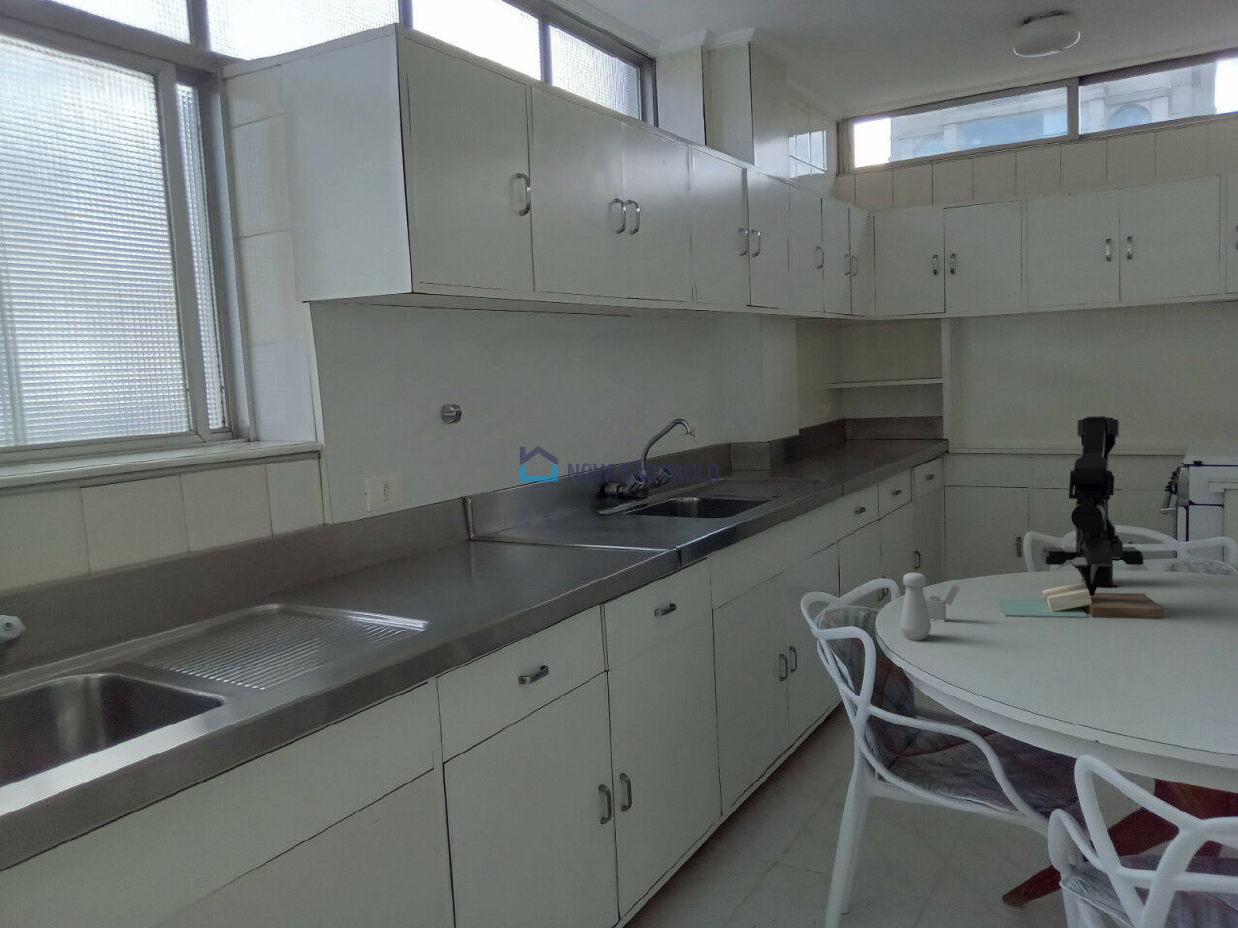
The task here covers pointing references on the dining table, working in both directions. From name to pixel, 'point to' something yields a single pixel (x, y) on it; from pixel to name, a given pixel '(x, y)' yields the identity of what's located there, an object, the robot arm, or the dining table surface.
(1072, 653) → the dining table surface
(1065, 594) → the birch tile
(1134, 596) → the walnut board
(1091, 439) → the robot arm
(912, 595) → the salt shaker
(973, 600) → the dining table surface
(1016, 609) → the rubber mat
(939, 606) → the lighter
